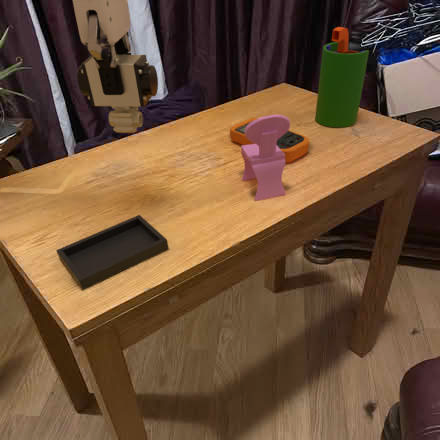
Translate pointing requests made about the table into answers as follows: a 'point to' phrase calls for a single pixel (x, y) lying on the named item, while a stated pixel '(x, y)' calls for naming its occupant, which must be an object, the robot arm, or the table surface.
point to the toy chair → (265, 155)
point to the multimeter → (287, 143)
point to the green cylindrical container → (340, 82)
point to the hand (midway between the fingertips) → (120, 85)
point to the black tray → (111, 251)
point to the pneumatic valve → (132, 84)
